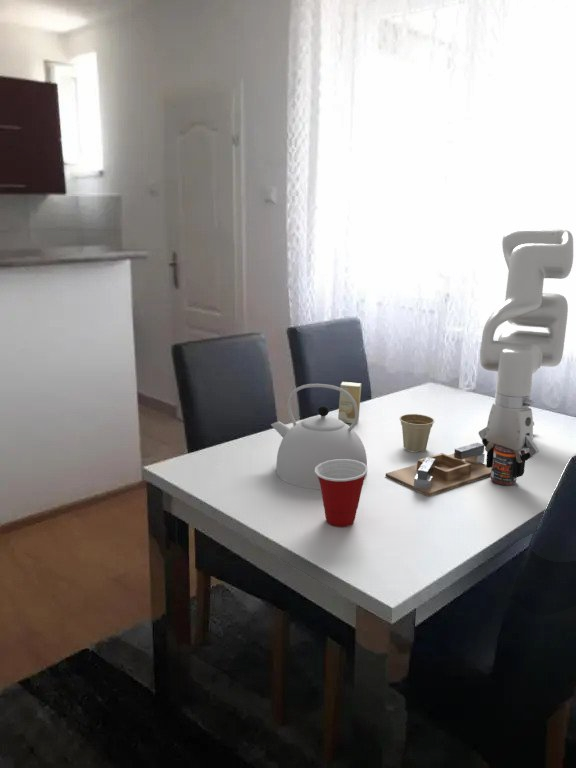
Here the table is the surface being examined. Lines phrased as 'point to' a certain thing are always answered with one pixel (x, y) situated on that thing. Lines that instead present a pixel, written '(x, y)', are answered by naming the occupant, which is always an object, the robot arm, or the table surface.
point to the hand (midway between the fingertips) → (504, 470)
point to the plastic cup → (341, 489)
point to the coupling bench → (442, 474)
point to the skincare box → (349, 402)
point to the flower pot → (416, 431)
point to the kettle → (315, 443)
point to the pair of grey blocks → (468, 453)
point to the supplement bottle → (503, 466)
